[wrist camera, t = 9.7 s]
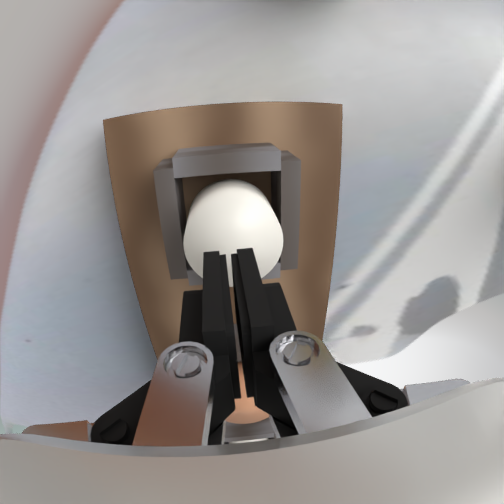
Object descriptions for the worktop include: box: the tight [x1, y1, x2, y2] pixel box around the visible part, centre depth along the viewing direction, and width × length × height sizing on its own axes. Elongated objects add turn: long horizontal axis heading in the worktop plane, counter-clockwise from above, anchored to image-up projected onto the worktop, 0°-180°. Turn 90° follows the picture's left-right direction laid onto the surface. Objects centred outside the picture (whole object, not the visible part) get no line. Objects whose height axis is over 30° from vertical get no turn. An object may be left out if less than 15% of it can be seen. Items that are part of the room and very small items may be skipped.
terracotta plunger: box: [225, 361, 269, 424], centre depth 21 cm, size 4×4×3 cm
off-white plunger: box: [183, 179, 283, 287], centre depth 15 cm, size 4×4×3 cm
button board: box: [103, 102, 342, 444], centre depth 25 cm, size 14×38×7 cm, turn 2°
